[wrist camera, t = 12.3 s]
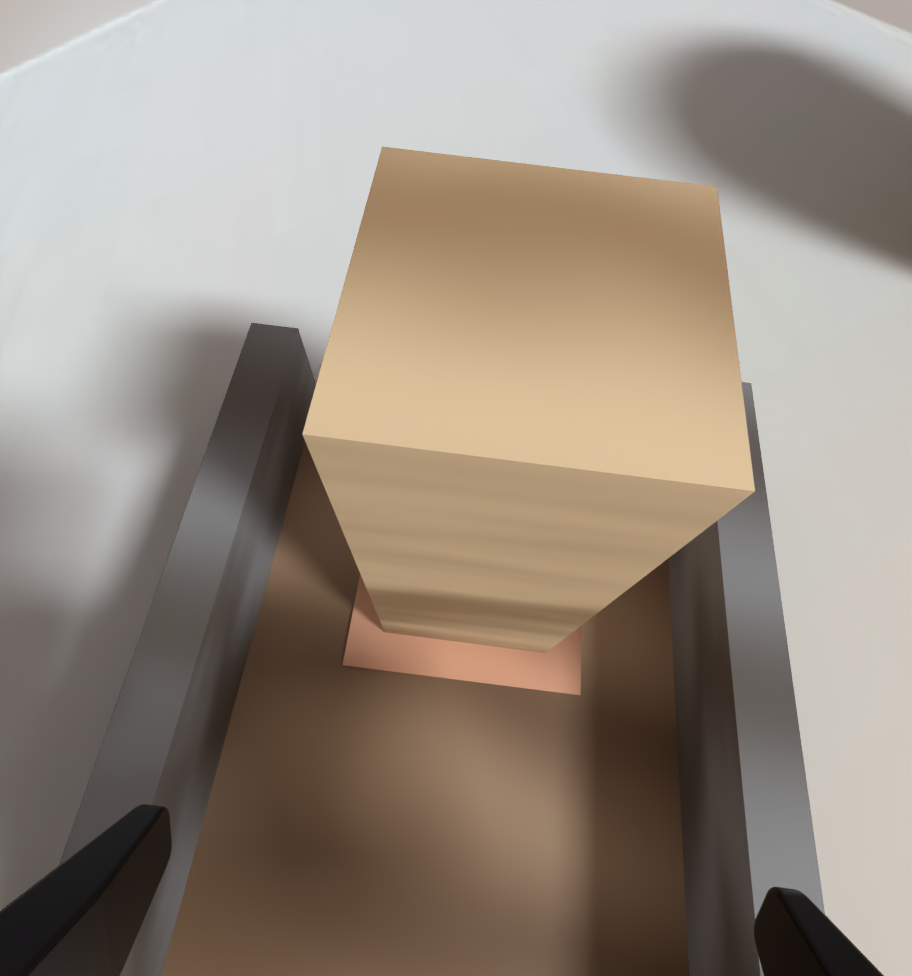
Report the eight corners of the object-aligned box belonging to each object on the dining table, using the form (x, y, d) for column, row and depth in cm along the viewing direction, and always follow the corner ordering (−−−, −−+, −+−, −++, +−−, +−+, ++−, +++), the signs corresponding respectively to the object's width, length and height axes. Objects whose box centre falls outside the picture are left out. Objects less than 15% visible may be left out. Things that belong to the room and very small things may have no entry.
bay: (752, 1142, 13) (878, 1299, 9) (83, 1052, 13) (-50, 1171, 9) (695, 445, 21) (751, 383, 17) (282, 394, 21) (251, 323, 17)
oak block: (545, 653, 17) (755, 490, 6) (384, 632, 17) (302, 434, 6) (552, 505, 19) (717, 187, 8) (409, 487, 19) (382, 147, 8)
